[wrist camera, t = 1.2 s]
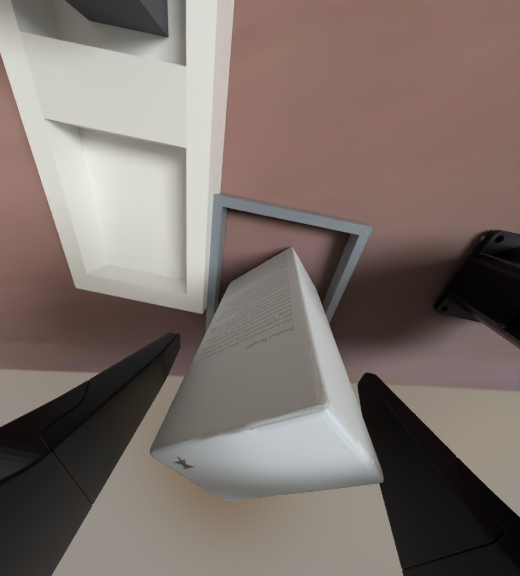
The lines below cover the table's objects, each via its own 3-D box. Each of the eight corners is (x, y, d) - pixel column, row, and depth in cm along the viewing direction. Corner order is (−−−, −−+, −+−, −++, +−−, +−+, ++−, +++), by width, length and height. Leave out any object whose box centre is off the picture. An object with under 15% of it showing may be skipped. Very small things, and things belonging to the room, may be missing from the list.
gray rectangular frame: (364, 222, 13) (373, 227, 12) (310, 348, 19) (312, 360, 18) (220, 192, 13) (213, 194, 12) (210, 327, 19) (204, 338, 18)
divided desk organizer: (262, -378, 6) (251, -718, 4) (212, 297, 17) (202, 314, 15) (-71, -453, 6) (-287, -843, 4) (101, 274, 17) (75, 288, 15)
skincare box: (257, 317, 18) (224, 506, 7) (229, 281, 16) (138, 454, 6) (319, 287, 16) (392, 489, 5) (293, 243, 14) (326, 406, 4)
